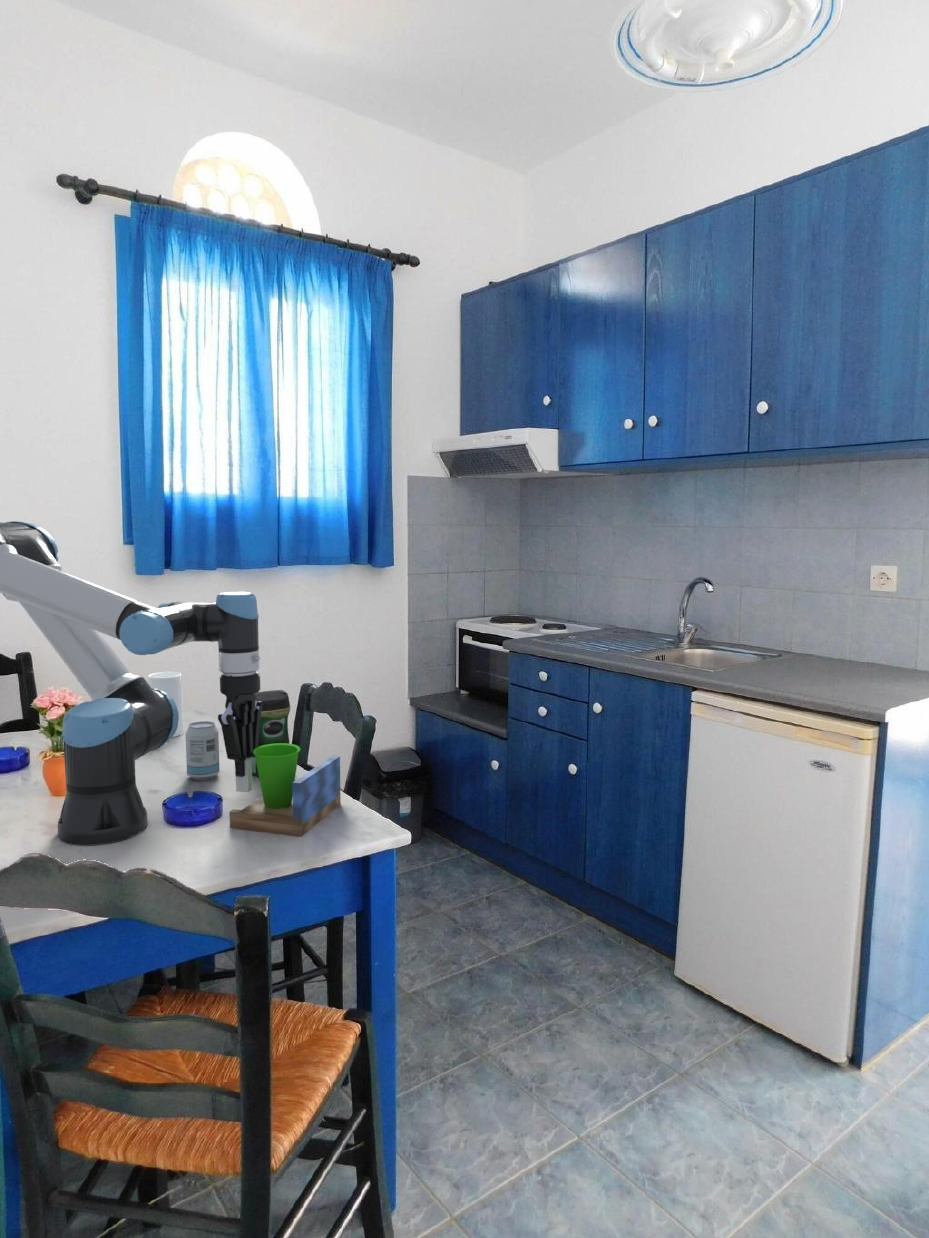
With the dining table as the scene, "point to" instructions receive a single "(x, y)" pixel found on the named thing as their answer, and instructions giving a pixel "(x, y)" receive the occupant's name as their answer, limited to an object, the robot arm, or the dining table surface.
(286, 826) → the wooden display stand
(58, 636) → the robot arm
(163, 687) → the cup
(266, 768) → the cup
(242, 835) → the dining table surface
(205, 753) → the beverage can
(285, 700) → the coffee jar
